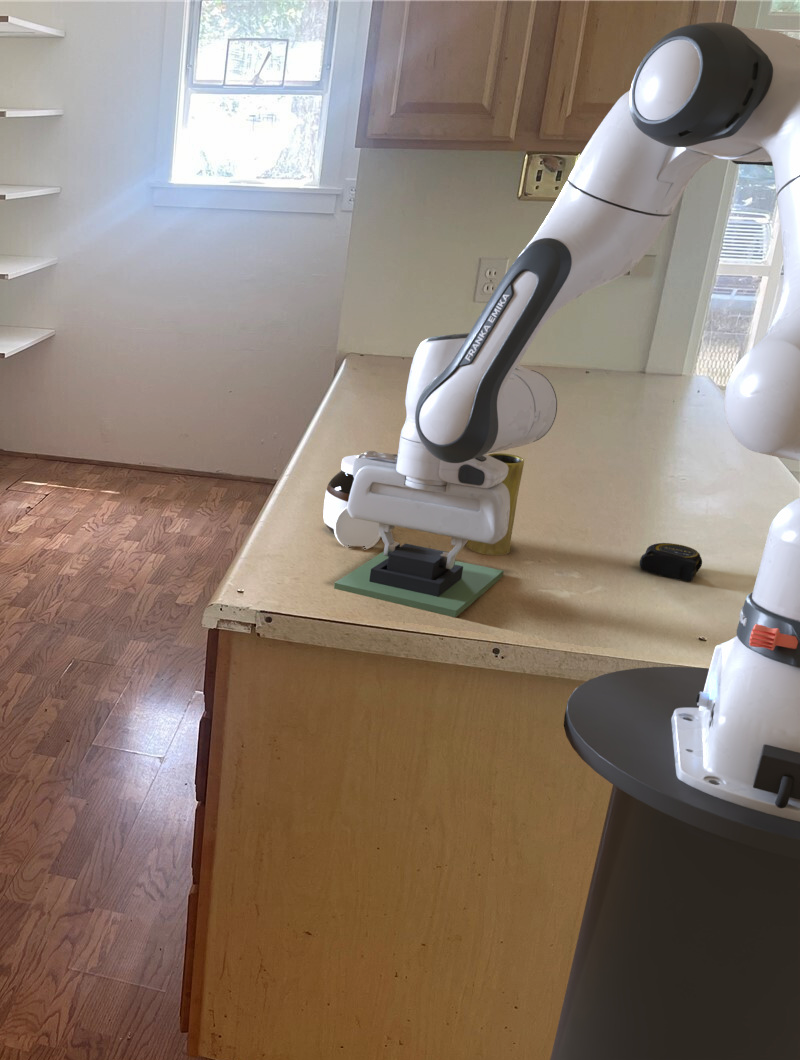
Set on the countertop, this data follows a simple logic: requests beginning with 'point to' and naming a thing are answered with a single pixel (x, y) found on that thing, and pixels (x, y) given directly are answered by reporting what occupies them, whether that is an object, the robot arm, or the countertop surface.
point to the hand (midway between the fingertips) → (418, 561)
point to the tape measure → (671, 561)
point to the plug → (416, 561)
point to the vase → (513, 485)
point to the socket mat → (421, 586)
